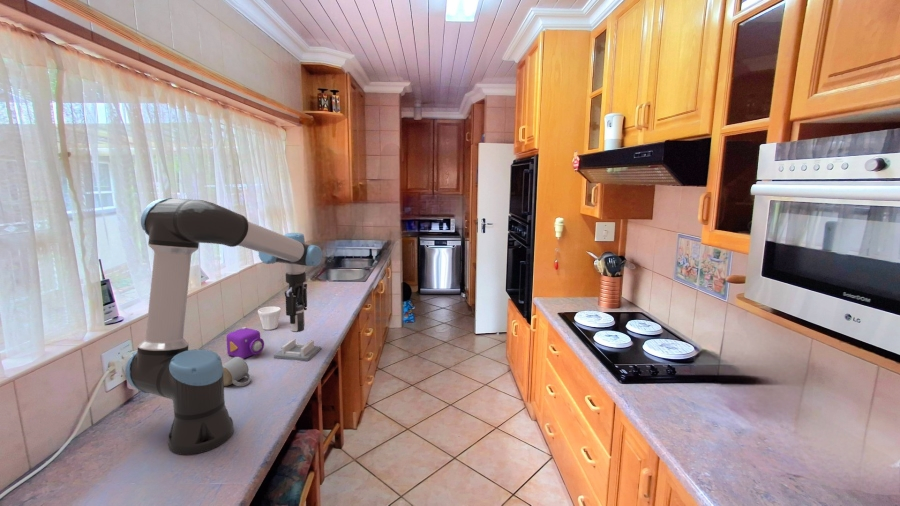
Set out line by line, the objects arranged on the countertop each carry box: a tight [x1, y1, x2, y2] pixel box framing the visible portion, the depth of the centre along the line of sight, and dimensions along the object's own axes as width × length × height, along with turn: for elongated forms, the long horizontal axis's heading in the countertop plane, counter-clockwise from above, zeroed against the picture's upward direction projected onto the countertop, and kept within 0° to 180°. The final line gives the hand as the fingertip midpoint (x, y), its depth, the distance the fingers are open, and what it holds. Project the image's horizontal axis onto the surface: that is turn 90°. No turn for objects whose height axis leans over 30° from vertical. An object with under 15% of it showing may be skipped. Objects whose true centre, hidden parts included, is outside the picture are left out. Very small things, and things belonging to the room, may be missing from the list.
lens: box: [291, 304, 305, 333], centre depth 163 cm, size 5×5×10 cm
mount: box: [273, 338, 322, 362], centre depth 166 cm, size 12×14×4 cm
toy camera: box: [226, 326, 265, 360], centre depth 163 cm, size 11×14×10 cm
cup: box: [257, 306, 282, 331], centre depth 192 cm, size 10×10×9 cm
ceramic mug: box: [222, 356, 252, 387], centre depth 140 cm, size 11×8×8 cm
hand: (297, 328), depth 164 cm, fingers closed on lens, 5 cm apart
